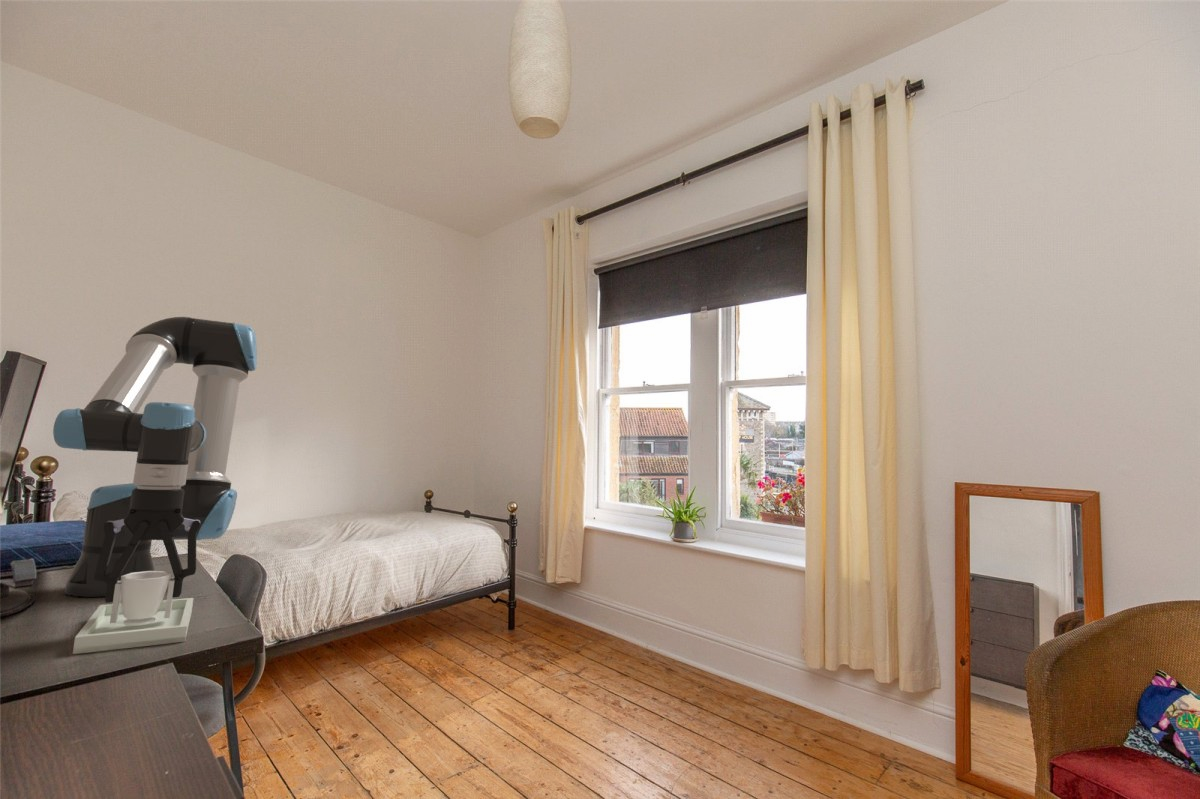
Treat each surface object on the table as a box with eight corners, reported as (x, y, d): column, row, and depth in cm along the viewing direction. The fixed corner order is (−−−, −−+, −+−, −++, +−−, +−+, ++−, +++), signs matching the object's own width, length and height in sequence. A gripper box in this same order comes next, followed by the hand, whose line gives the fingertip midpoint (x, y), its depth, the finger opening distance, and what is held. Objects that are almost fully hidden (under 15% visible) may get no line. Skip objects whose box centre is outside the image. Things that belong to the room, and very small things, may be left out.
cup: (108, 630, 91) (116, 580, 92) (121, 613, 100) (128, 568, 101) (161, 626, 95) (168, 578, 96) (169, 610, 103) (176, 566, 104)
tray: (98, 618, 101) (100, 605, 102) (191, 610, 109) (193, 597, 109) (72, 654, 85) (75, 637, 85) (185, 641, 93) (187, 626, 93)
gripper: (82, 488, 91) (60, 631, 89) (224, 489, 102) (208, 617, 100) (91, 485, 97) (71, 619, 95) (224, 486, 108) (209, 607, 106)
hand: (141, 618), depth 97 cm, fingers closed on cup, 7 cm apart
